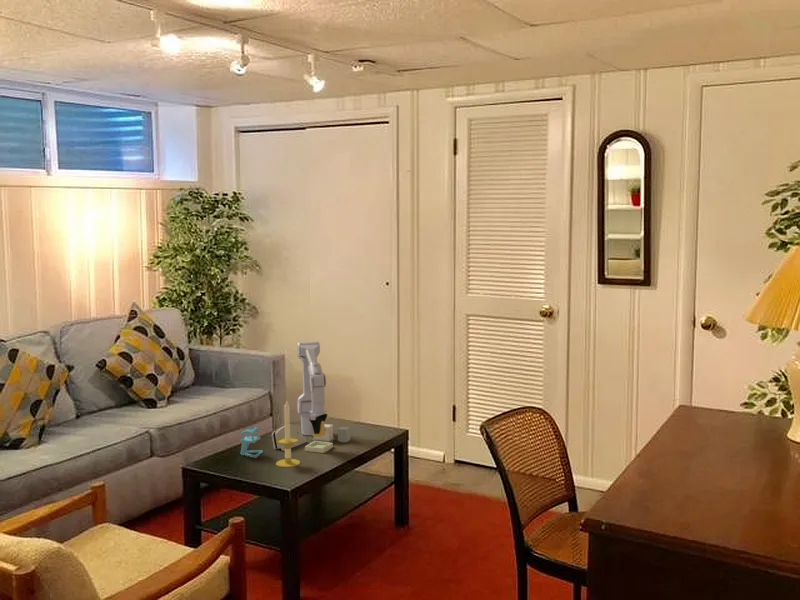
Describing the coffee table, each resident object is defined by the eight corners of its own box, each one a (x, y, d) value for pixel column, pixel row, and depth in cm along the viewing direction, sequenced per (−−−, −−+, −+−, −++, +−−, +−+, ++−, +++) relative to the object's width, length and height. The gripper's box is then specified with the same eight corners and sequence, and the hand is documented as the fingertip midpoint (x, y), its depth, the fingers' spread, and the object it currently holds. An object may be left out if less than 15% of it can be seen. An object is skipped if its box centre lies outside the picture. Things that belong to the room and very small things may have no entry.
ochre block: (324, 434, 346) (324, 421, 346) (321, 437, 342) (321, 423, 342) (316, 433, 347) (315, 420, 346) (313, 436, 343) (312, 422, 343)
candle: (301, 466, 322) (299, 401, 319) (276, 468, 320) (274, 403, 317) (299, 458, 332) (298, 396, 329) (275, 460, 330) (273, 397, 327)
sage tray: (314, 445, 351) (314, 440, 351) (332, 447, 348) (332, 442, 348) (304, 450, 343) (304, 446, 343) (323, 453, 340) (323, 448, 339)
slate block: (341, 439, 360) (341, 426, 359) (349, 440, 359) (349, 427, 358) (338, 441, 356) (337, 428, 356) (346, 442, 355) (345, 429, 354)
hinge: (282, 451, 343) (275, 428, 344) (274, 453, 345) (268, 430, 346) (307, 441, 357) (301, 420, 357) (299, 443, 359) (293, 422, 360)
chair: (245, 451, 343) (244, 424, 342) (263, 452, 341) (262, 425, 340) (237, 456, 336) (236, 429, 334) (255, 457, 334) (254, 430, 332)
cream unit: (317, 437, 362) (317, 422, 362) (335, 439, 359) (334, 424, 358) (311, 441, 357) (310, 425, 356) (329, 443, 354) (328, 427, 353)
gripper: (315, 397, 351) (315, 427, 353) (303, 405, 337) (304, 436, 339) (330, 398, 349) (330, 428, 351) (319, 406, 335) (319, 437, 337)
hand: (318, 432), depth 345 cm, fingers closed on ochre block, 4 cm apart
